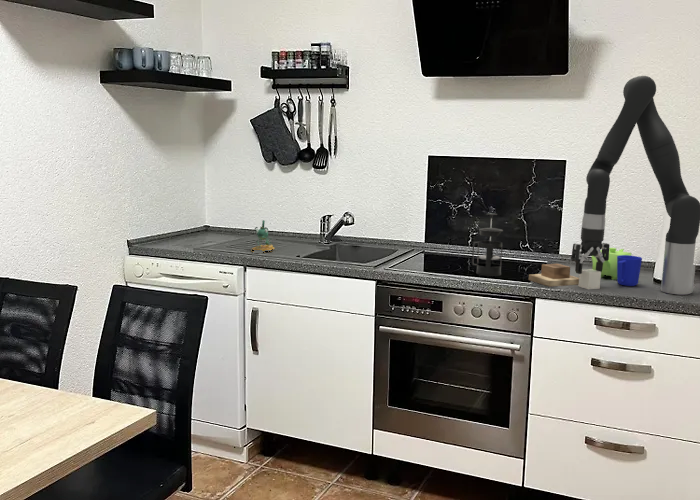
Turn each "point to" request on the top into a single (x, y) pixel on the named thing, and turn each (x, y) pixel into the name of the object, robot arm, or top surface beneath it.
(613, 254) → the kettle
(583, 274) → the cube
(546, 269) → the base block
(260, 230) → the frog figurine
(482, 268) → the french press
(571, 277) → the board
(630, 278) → the mug
